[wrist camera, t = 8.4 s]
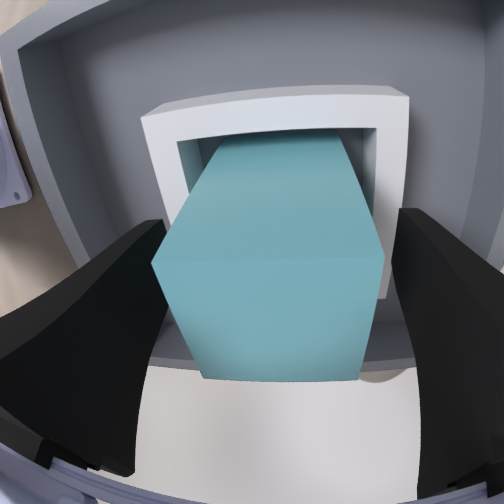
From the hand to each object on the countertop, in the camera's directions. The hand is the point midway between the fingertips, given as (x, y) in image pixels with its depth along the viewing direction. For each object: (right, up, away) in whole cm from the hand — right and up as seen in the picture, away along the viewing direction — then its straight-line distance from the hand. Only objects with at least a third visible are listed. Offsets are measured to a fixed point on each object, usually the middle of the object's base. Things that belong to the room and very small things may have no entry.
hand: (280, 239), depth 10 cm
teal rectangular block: (0, +2, +2) cm, 3 cm away
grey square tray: (+1, +2, +3) cm, 4 cm away
